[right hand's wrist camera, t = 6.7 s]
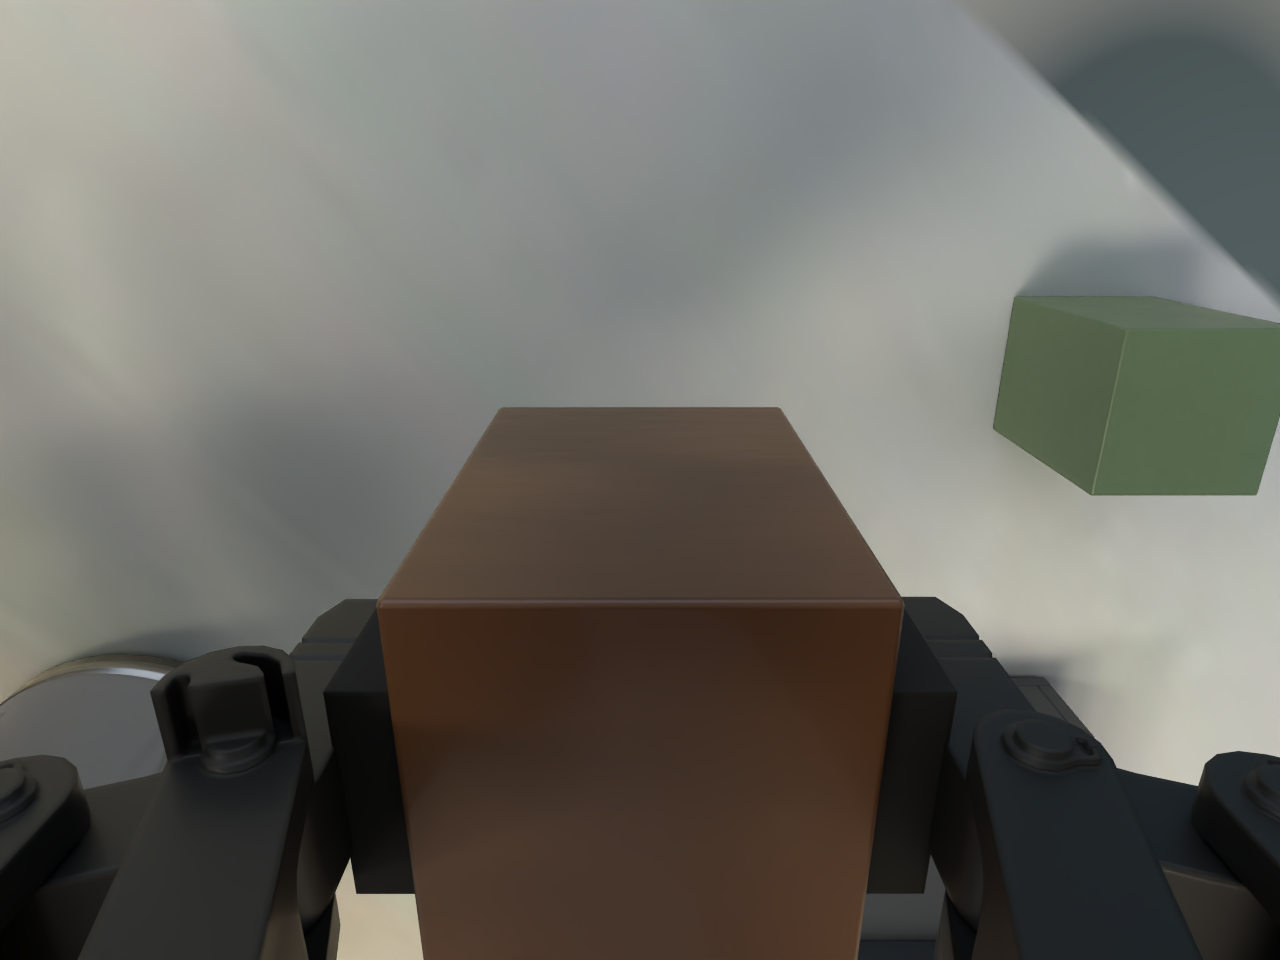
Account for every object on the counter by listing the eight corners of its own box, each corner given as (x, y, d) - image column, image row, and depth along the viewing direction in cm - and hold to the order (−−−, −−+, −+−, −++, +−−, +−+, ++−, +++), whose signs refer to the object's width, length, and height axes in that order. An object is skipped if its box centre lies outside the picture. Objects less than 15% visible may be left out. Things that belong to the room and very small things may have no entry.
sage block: (992, 429, 30) (1090, 496, 23) (1013, 296, 28) (1126, 328, 22) (1122, 429, 30) (1257, 496, 23) (1152, 296, 28) (1306, 328, 22)
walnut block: (515, 649, 16) (424, 983, 9) (498, 406, 14) (373, 602, 7) (765, 649, 16) (857, 983, 9) (781, 405, 14) (908, 602, 7)
